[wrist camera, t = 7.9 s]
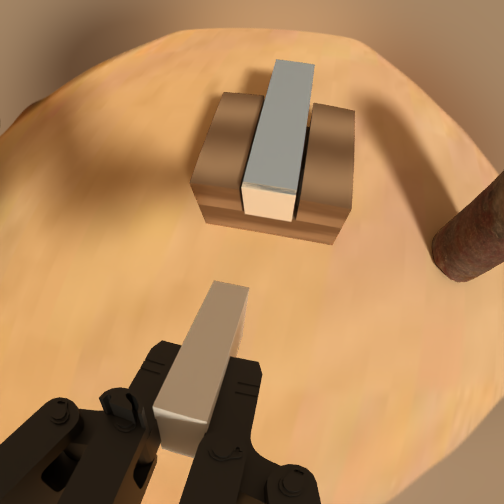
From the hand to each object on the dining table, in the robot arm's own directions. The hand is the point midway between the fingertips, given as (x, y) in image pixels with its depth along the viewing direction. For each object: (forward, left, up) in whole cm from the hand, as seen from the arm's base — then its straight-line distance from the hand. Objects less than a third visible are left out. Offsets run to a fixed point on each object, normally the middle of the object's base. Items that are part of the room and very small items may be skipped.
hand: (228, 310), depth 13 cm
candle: (+13, +23, -18) cm, 32 cm away
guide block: (-9, +15, -18) cm, 25 cm away
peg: (-10, +17, -13) cm, 24 cm away
